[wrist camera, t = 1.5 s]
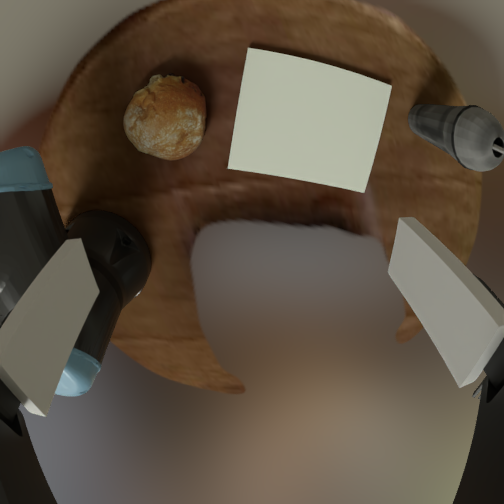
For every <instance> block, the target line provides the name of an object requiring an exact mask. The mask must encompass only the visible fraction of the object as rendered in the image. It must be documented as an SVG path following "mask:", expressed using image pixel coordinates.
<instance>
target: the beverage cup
mask: <svg viewBox="0 0 504 504" xmlns="http://www.w3.org/2000/svg"><path fill="white" fill-rule="evenodd" d="M408 122H409V126H410V128H411V130H412V131H413V132H414V133H415V134H417V135H419V136H420V137H421V138H423V139H425V140H426V141H428V142H430V143H432V144H433V145H435V146H437V147H438V148H440V149H442V150H443V151H445V152H447V153H448V154H450V155H451V156H452V157H453V158H455V159H456V160H457V161H458V162H459V163H460V164H461V165H462V166H463V167H464V168H467V169H470V170H476V171H487V170H491V169H493V168H495V167H496V166H498V165H499V164H500V163H501V161H502V160H503V158H504V130H503V128H502V126H501V124H500V123H499V121H498V120H497V119H496V118H495V117H494V116H493V115H492V114H491V113H489V112H488V111H486V110H484V109H483V108H481V107H478V106H476V105H469V106H459V107H458V106H446V105H432V104H423V105H422V104H420V105H416V106H414V107H413V108H412V109H411V110H410V112H409V116H408Z"/></svg>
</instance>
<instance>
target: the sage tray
mask: <svg viewBox="0 0 504 504" xmlns="http://www.w3.org/2000/svg"><path fill="white" fill-rule="evenodd" d="M391 88H392V86H391V85H388V84H385V83H383V82H380V81H377V80H375V79H372V78H369V77H366V76H363V75H360V74H357V73H354V72H351V71H348V70H345V69H341V68H338V67H335V66H331V65H327V64H324V63H320V62H316V61H312V60H308V59H304V58H300V57H295V56H291V55H286V54H281V53H276V52H271V51H265V50H259V49H253V48H248V52H247V57H246V63H245V68H244V73H243V79H242V84H241V90H240V96H239V102H238V108H237V113H236V119H235V126H234V132H233V138H232V144H231V151H230V157H229V164H228V169H236V170H243V171H250V172H256V173H263V174H269V175H275V176H281V177H287V178H293V179H298V180H304V181H309V182H315V183H320V184H325V185H330V186H335V187H340V188H344V189H349V190H354V191H358V192H363V193H364V192H365V188H366V185H367V182H368V178H369V175H370V171H371V168H372V164H373V161H374V157H375V154H376V150H377V146H378V142H379V138H380V135H381V131H382V127H383V123H384V118H385V114H386V110H387V106H388V101H389V97H390V92H391Z"/></svg>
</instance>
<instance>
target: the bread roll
mask: <svg viewBox="0 0 504 504" xmlns="http://www.w3.org/2000/svg"><path fill="white" fill-rule="evenodd" d="M206 117H207V115H206V103H205V97H204V95H203V93H202V92H201V91H200V89H199V87H198V86H197V85H196V84H194V83H192V82H190V81H189V80H187V79H184V77H183V76H179V77H177V76H175V75H174V74H172V73H169V74H167V75H166V76H165V77H163V76H162V75H160V74H159V75H154V76H153V77H152V78H151V79H150V82H149V84H148V85H147V86H145V88H144V89H141V90H139V91H137V92H135V94H134V95H133V98H132V100H131V101H130V103H129V104H128V106H127V109H126V112H125V114H124V121H123V125H124V130H125V133H126V135H127V137H128V139H129V140H130V142H132V144H133V145H134V146H135V147H136V148H137V149H138V151H141V152H144V153H146V154H148V153H149V154H150V155H153V156H156V157H158V158H162V159H165V160H178V159H182V158H184V157H186V156H188V155H190V154H191V153H193V152H194V151H195V150H196V149H197V148H198V146H199V145H200V143H201V142H202V140H203V136H204V135H205V129H206V127H205V124H206V121H205V119H206Z"/></svg>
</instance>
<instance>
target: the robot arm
mask: <svg viewBox="0 0 504 504" xmlns="http://www.w3.org/2000/svg"><path fill="white" fill-rule="evenodd" d="M51 188H53V185H52V183H50V182H49V180H48V177H47V174H46V171H45V168H44V165H43V161H42V158H41V156H40V154H39V153H38V151H37V150H35V149H34V148H32V147H27V146H23V147H18V148H14V149H10V150H6V151H3V152H0V504H57V502H56V500H55V498H54V496H53V494H52V492H51V490H50V487H49V485H48V483H47V481H46V478H45V476H44V474H43V472H42V469H41V467H40V464H39V461H38V459H37V456H36V454H35V451H34V448H33V445H32V442H31V440H30V436H29V433H28V430H27V427H26V424H25V420H24V417H23V415H22V413H21V411H20V410H19V409H18V408H19V406H20V403H22V405H23V406H24V407H25V408H26V409H27V410H28V411H29V412H30V413H34V414H37V415H41V416H45V417H46V416H47V414H48V411H49V408H50V405H51V402H52V399H53V396H54V394H58V395H63V396H79V395H82V394H84V393H86V392H87V391H88V390H89V389H90V387H91V386H92V384H93V381H94V379H95V377H96V375H97V372H99V371H100V369H101V363H102V360H103V358H104V355H105V352H106V349H107V346H108V344H109V341H110V338H111V336H112V333H113V330H114V328H115V325H116V322H117V320H118V317H119V315H120V312H121V310H122V309H123V308H124V307H125V306H126V305H127V304H128V303H129V302H130V301H131V300H132V299H133V298H135V297H136V296H137V295H138V294H139V293H140V292H141V291H142V289H143V288H144V286H145V284H146V281H147V279H148V277H149V274H150V270H151V257H150V252H149V249H148V246H147V244H146V242H145V240H144V239H143V237H142V235H141V234H140V233H139V232H138V230H137V229H136V228H135V227H134V226H133V225H132V224H130V223H129V222H128V221H127V220H125V219H123V218H122V217H120V216H118V215H116V214H113V213H110V212H106V211H99V210H95V211H88V212H85V213H82V214H80V215H78V216H77V217H76V218H74V219H73V220H72V221H71V222H70V223H69V224H68V225H67V227H66V228H65V227H64V224H63V222H62V219H61V216H60V213H59V210H58V207H57V204H56V201H55V198H54V195H53V192H52V189H51ZM388 274H389V275H390V277H391V278H392V280H393V281H394V283H395V284H396V285H397V287H398V288H399V290H400V291H401V293H402V294H403V296H404V297H405V299H406V300H407V302H408V303H409V305H410V306H411V308H412V309H413V311H414V312H415V314H416V315H417V317H418V318H419V320H420V322H421V323H422V325H423V326H424V328H425V330H426V331H427V333H428V334H429V336H430V338H431V339H432V341H433V342H434V344H435V346H436V348H437V349H438V351H439V352H440V354H441V356H442V358H443V359H444V361H445V363H446V365H447V366H448V368H449V370H450V372H451V374H452V375H453V377H454V379H455V381H456V383H457V384H458V386H459V388H460V387H463V386H465V385H467V384H470V383H472V382H474V381H475V380H476V379H477V378H478V376H479V375H480V374H481V372H482V371H483V370H484V371H485V373H486V375H487V376H486V377H485V379H484V380H483V381H482V383H481V384H480V385H479V386H478V388H477V389H476V390H475V392H474V393H473V397H475V396H476V395H477V394H478V393H479V392H480V390H482V391H481V395H480V396H479V398H478V399H480V404H479V410H478V416H477V421H476V426H475V431H474V435H473V440H472V444H471V448H470V452H469V455H468V459H467V463H466V466H465V469H464V473H463V476H462V479H461V482H460V485H459V488H458V491H457V493H456V496H455V499H454V501H453V504H504V304H503V303H502V301H501V300H500V299H499V298H497V296H496V295H495V293H494V292H493V291H491V289H490V288H489V287H488V286H487V285H486V284H485V282H484V281H482V280H481V279H480V278H478V277H477V276H475V275H474V274H472V273H471V272H470V271H469V270H468V269H467V268H466V266H465V265H464V264H463V263H462V262H461V261H460V260H459V259H458V258H457V257H456V256H455V255H454V254H453V253H452V252H451V251H450V250H449V249H448V248H446V247H445V246H444V245H443V244H442V243H441V242H440V241H439V240H438V239H437V238H436V237H435V236H434V235H433V234H432V233H431V232H429V231H428V230H427V229H426V228H425V227H424V226H423V225H422V224H421V223H420V222H418V221H417V220H416V219H415V218H414V217H406V218H399V221H398V227H397V232H396V237H395V242H394V247H393V251H392V256H391V260H390V265H389V269H388Z"/></svg>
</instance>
